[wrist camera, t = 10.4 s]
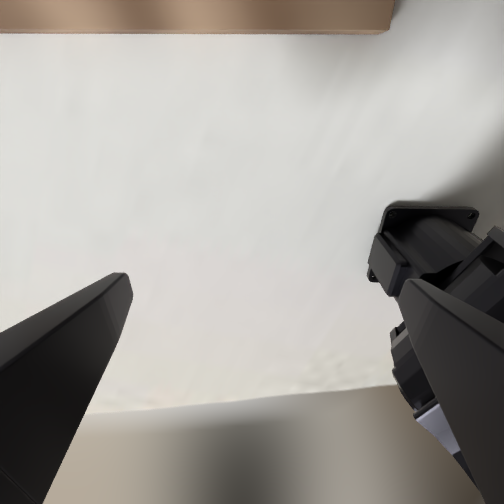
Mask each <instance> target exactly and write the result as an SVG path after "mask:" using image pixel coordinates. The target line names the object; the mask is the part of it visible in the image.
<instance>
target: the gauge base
mask: <svg viewBox="0 0 504 504" xmlns="http://www.w3.org/2000/svg"><path fill="white" fill-rule="evenodd" d="M394 3H395V0H0V33H46V34H381V33H383V32H385V31H388V30H389V28H390V23H391V18H392V13H393V8H394Z"/></svg>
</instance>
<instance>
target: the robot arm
mask: <svg viewBox="0 0 504 504" xmlns="http://www.w3.org/2000/svg"><path fill="white" fill-rule="evenodd" d="M391 212H394V214H393V215H392V216H389V214H390V213H391ZM470 213H472V214H471V215H470V216H469V217H468V215H469V214H470ZM478 217H479V211H477V210H476V209H474V208H471V207H415V206H390V207H388V208H386V209H385V211H384V213H383V217H382V220H381V224H380V228H379V231H378V233H377V234H376V235H375V237H374V240H373V244H372V248H371V252H370V256H369V259H368V264H369V269H368V272H367V277H368V279H369V281H370V282H379V283H380V284H381V286H382V288H383V289H384V291H385V293H386V294H387V295H388V296H389V297H394V298H395V300H396V301H397V303H398V305H399V308H400V311H401V313H402V316H403V319H404V321H403V322H402V323H401V324H400V325H399V326H398V327H395V328H394V329H393V330H392V331H391V332H390V338H391V346H392V347H391V353H392V357H393V361H394V368H393V369H392V373H393V377H394V378H395V380H396V382H397V385H398V387H399V389H400V391H401V393H402V395H403V396H404V398H405V399H406V401H407V402H408V403H409V405H410V406H411V407H412V409H413V410H414V411H415V413H414V414H413V416H414V418H415V419H416V421H418V422H419V423H420V424H421V425H422V426H423V427H425V428H426V429H427V430H428V431H429V432H430V433H432V434H433V435H434V436H435V437H436V438H437V439H438V440H439V441H440V442H441V443H442V445H443V446H444V447H445V448H446V449H447V450H448V451H449V452H450V453H451V454H452V455H453V457H454V458H455V459H456V461H457V462H458V463H459V464H460V466H461V467H462V468H463V469H464V471H465V472H466V473H467V475H468V476H469V478H470V479H471V480H472V482H473V483H474V484H475V485H476V487H477V488H478V490H479V491H480V493H481V495H482V497H483V499H484V501H485V504H504V230H503V229H501V228H499V227H496V226H494V227H493V228H492V229H491V230H490V231H489V232H488V233H487V235H488V236H487V237H486V238H485V239H484V240H482V239H480V238H479V237H477V236H476V235H475V234H473V233H472V230H473V227H474V225H475V223H476V221H477V219H478ZM373 275H375V276H374V277H372V276H373ZM132 300H133V291H132V287H131V284H130V280H129V277H128V275H127V274H126V273H112V274H110V275H108V276H106V277H104V278H102V279H100V280H98V281H97V282H95V283H93V284H91V285H89V286H87V287H85V288H83V289H82V290H80V291H78V292H76V293H74V294H72V295H70V296H68V297H67V298H65V299H63V300H61V301H59V302H57V303H55V304H53V305H52V306H50V307H48V308H46V309H44V310H42V311H40V312H38V313H37V314H35V315H33V316H31V317H29V318H27V319H25V320H23V321H22V322H20V323H18V324H16V325H14V326H12V327H10V328H8V329H7V330H5V331H3V332H1V333H0V504H43V501H44V499H45V497H46V495H47V493H48V491H49V489H50V487H51V484H52V482H53V480H54V478H55V476H56V474H57V471H58V469H59V467H60V465H61V463H62V461H63V459H64V457H65V455H66V452H67V450H68V448H69V446H70V444H71V442H72V440H73V437H74V435H75V433H76V431H77V429H78V427H79V425H80V422H81V420H82V418H83V416H84V414H85V412H86V410H87V407H88V405H89V403H90V401H91V399H92V397H93V395H94V392H95V390H96V388H97V386H98V384H99V382H100V380H101V378H102V375H103V373H104V371H105V369H106V367H107V365H108V363H109V360H110V358H111V356H112V354H113V352H114V350H115V348H116V345H117V343H118V341H119V338H120V335H121V333H122V330H123V327H124V324H125V321H126V318H127V315H128V312H129V309H130V306H131V303H132Z"/></svg>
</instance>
